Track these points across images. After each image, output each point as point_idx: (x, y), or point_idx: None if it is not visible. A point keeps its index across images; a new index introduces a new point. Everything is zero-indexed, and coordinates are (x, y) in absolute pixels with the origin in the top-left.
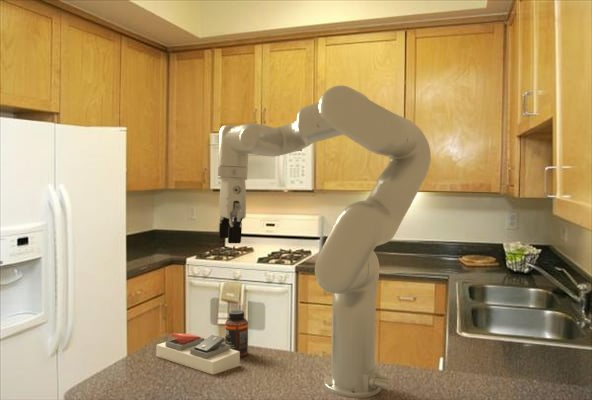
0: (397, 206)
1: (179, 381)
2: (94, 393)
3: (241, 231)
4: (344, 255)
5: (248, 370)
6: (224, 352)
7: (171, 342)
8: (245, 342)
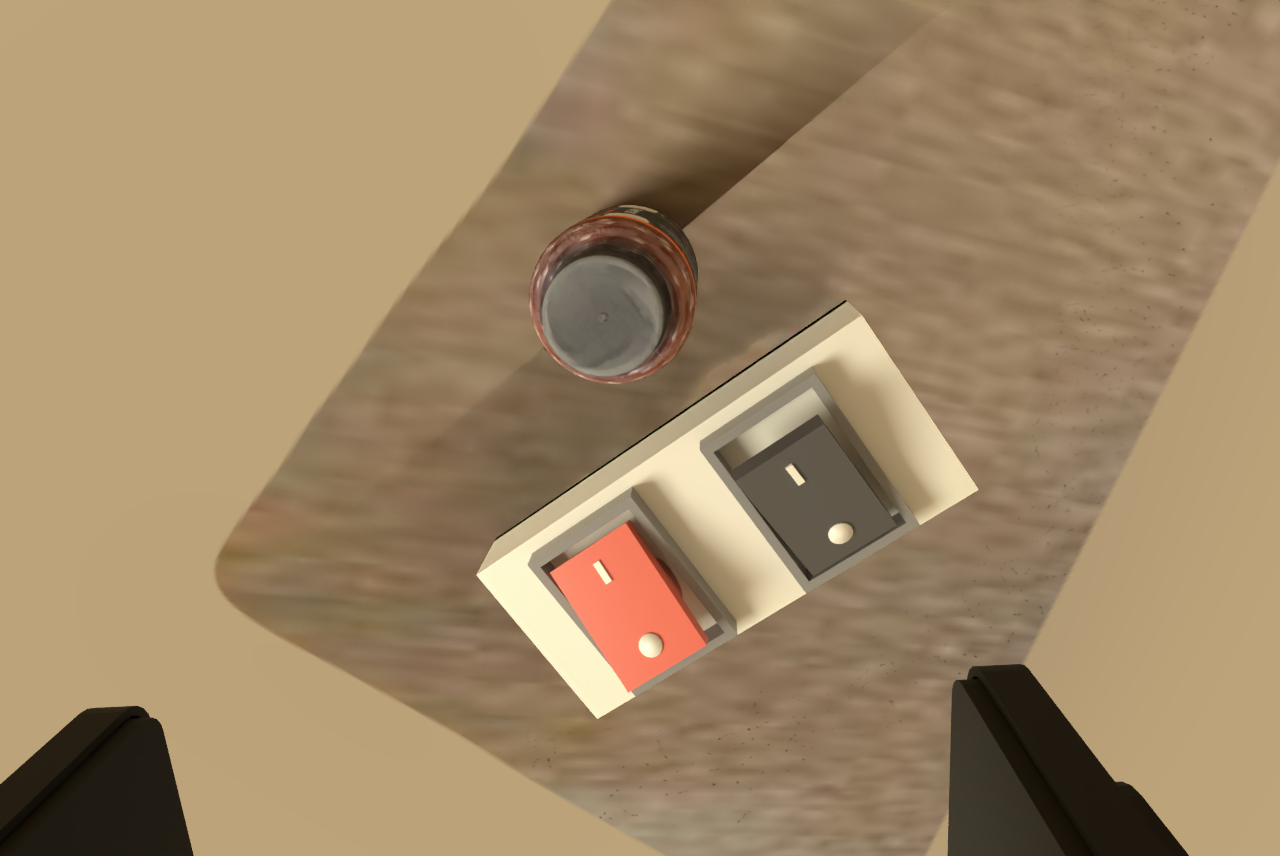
0: None
1: (906, 598)
2: None
3: (1164, 847)
4: None
5: (897, 259)
6: (846, 404)
7: None
8: (680, 236)
